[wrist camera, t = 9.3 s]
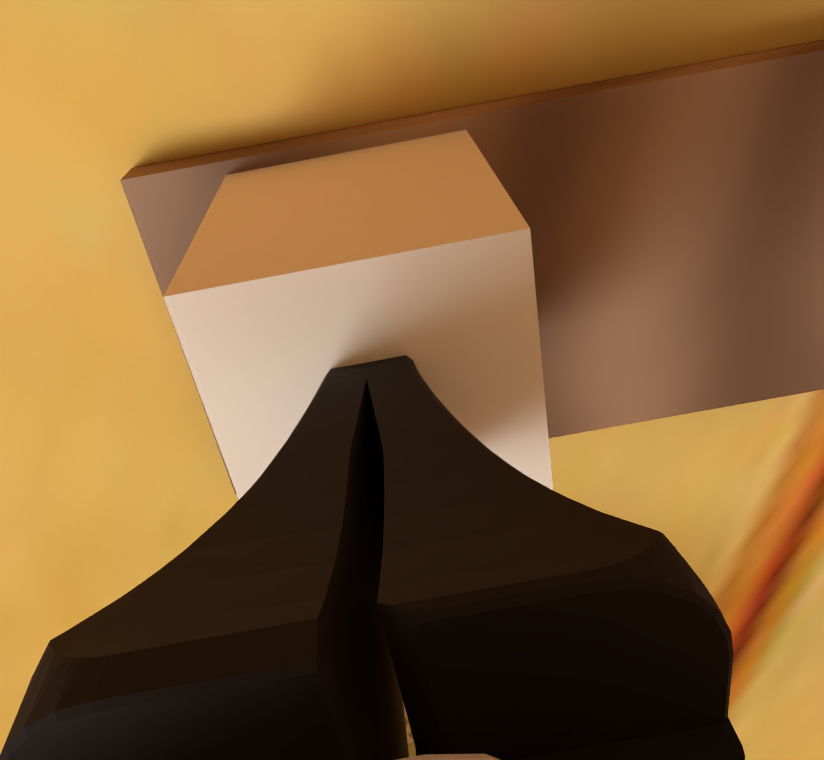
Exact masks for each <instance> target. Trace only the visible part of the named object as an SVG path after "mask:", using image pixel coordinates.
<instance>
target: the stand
mask: <svg viewBox="0 0 824 760" xmlns="http://www.w3.org/2000/svg"><path fill="white" fill-rule="evenodd" d="M461 130H467V132H468V133H469V135H470V136H471V138H472V139H473V141H474V142H475V144H476V145H477V147H478V149H479V150H480V152H481V153H482V155H483V156H484V158H485V159H486V161H487V162H488V164H489V166H490V167H491V169H492V170H493V172H494V173H495V175H496V176H497V178H498V179H499V181H500V183H501V184H502V186H503V187H504V189H505V190H506V192H507V193H508V195H509V196H510V198H511V200H512V201H513V203H514V204H515V206H516V207H517V209H518V210H519V212H520V213H521V215H522V217H523V218H524V220H525V221H526V223H527V224H528V226H529V227H530V232H531V243H532V255H533V266H534V278H535V289H536V300H537V312H538V323H539V335H540V346H541V358H542V369H543V381H544V392H545V404H546V415H547V427H548V438H552V437H558V436H563V435H569V434H575V433H580V432H586V431H592V430H597V429H603V428H608V427H614V426H620V425H625V424H631V423H637V422H642V421H648V420H653V419H659V418H665V417H670V416H676V415H682V414H687V413H693V412H698V411H704V410H710V409H715V408H721V407H726V406H732V405H738V404H743V403H749V402H755V401H760V400H766V399H771V398H777V397H783V396H788V395H794V394H800V393H805V392H811V391H816V390H822V389H824V40H822V41H817V42H811V43H806V44H801V45H795V46H790V47H784V48H779V49H774V50H768V51H763V52H757V53H752V54H747V55H741V56H736V57H730V58H725V59H720V60H714V61H709V62H703V63H698V64H693V65H687V66H682V67H676V68H671V69H666V70H660V71H655V72H649V73H644V74H639V75H633V76H628V77H622V78H617V79H612V80H606V81H601V82H595V83H590V84H585V85H579V86H574V87H568V88H563V89H558V90H552V91H547V92H541V93H536V94H531V95H525V96H520V97H514V98H509V99H504V100H498V101H493V102H487V103H482V104H477V105H471V106H466V107H460V108H455V109H450V110H444V111H439V112H433V113H428V114H423V115H417V116H412V117H406V118H401V119H396V120H390V121H385V122H379V123H374V124H369V125H363V126H358V127H352V128H347V129H342V130H336V131H331V132H325V133H320V134H315V135H309V136H304V137H298V138H293V139H288V140H282V141H277V142H271V143H266V144H261V145H255V146H250V147H244V148H239V149H234V150H228V151H223V152H217V153H212V154H206V155H201V156H196V157H190V158H185V159H179V160H174V161H169V162H163V163H158V164H152V165H147V166H142V167H136V168H131V169H130V171H129V172H128V173H127V174H126V175H125V176H124V177H123V178H122V179H121V180H120V181H121V183H122V186H123V189H124V192H125V194H126V197H127V200H128V203H129V205H130V208H131V211H132V213H133V216H134V219H135V222H136V224H137V227H138V230H139V232H140V235H141V238H142V241H143V243H144V246H145V249H146V252H147V254H148V257H149V260H150V262H151V265H152V268H153V271H154V273H155V276H156V279H157V282H158V284H159V287H160V290H161V292H162V295H163V296H164V294H165V293H166V291H167V289H168V287H169V285H170V283H171V281H172V279H173V277H174V275H175V273H176V271H177V269H178V267H179V265H180V263H181V261H182V260H183V258H184V256H185V254H186V252H187V250H188V248H189V246H190V244H191V242H192V240H193V238H194V236H195V234H196V232H197V230H198V228H199V227H200V225H201V223H202V221H203V219H204V217H205V215H206V213H207V211H208V209H209V207H210V205H211V203H212V201H213V199H214V197H215V195H216V193H217V192H218V190H219V188H220V186H221V184H222V182H223V180H224V178H225V176H226V175H228V174H234V173H239V172H244V171H249V170H255V169H260V168H265V167H270V166H276V165H281V164H286V163H292V162H297V161H302V160H307V159H313V158H318V157H323V156H329V155H334V154H339V153H344V152H350V151H355V150H360V149H366V148H371V147H376V146H381V145H387V144H392V143H397V142H402V141H408V140H413V139H418V138H424V137H429V136H434V135H439V134H445V133H450V132H455V131H461ZM163 298H164V297H163ZM164 301H165V300H164ZM166 306H167V305H166ZM167 309H168V308H167ZM168 312H169V311H168ZM170 317H171V316H170ZM171 320H172V319H171ZM173 325H174V324H173ZM174 328H175V327H174ZM175 331H176V330H175ZM176 333H177V332H176ZM177 336H178V335H177ZM178 339H179V338H178ZM179 342H180V340H179ZM180 344H181V343H180ZM181 347H182V346H181ZM182 350H183V349H182ZM183 352H184V351H183ZM184 355H185V354H184ZM185 358H186V357H185ZM186 361H187V359H186ZM187 363H188V362H187ZM188 366H189V365H188ZM189 369H190V367H189ZM190 371H191V370H190ZM191 374H192V373H191ZM192 377H193V375H192ZM193 380H194V378H193ZM194 382H195V381H194ZM195 385H196V383H195ZM196 388H197V386H196ZM197 391H198V389H197ZM198 393H199V392H198ZM199 396H200V394H199ZM200 399H201V397H200ZM201 401H202V400H201ZM202 404H203V402H202ZM203 407H204V405H203ZM204 410H205V408H204ZM205 412H206V410H205ZM206 415H207V413H206ZM207 418H208V416H207ZM208 421H209V418H208ZM209 423H210V421H209ZM210 426H211V424H210ZM211 429H212V426H211ZM212 431H213V429H212ZM213 434H214V432H213ZM214 437H215V435H214ZM215 440H216V437H215ZM216 442H217V440H216ZM217 445H218V443H217ZM218 448H219V445H218ZM219 451H220V448H219ZM220 453H221V451H220ZM221 456H222V453H221ZM222 459H223V456H222ZM223 461H224V459H223ZM224 464H225V461H224ZM225 467H226V464H225ZM226 470H227V472H228V469H227V467H226ZM228 475H229V472H228ZM229 478H230V475H229ZM230 480H231V478H230ZM231 483H232V480H231ZM232 486H233V483H232ZM233 489H234V491H235V488H234V486H233ZM235 494H236V491H235Z"/></svg>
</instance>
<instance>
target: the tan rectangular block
mask: <svg viewBox="0 0 824 760" xmlns="http://www.w3.org/2000/svg"><path fill="white" fill-rule="evenodd" d="M163 297H164V300H165V303H166V305H167V308H168V311H169V314H170V316H171V319H172V322H173V324H174V327H175V330H176V332H177V335H178V338H179V340H180V343H181V346H182V349H183V351H184V354H185V357H186V359H187V362H188V365H189V367H190V370H191V373H192V375H193V378H194V381H195V383H196V386H197V389H198V392H199V394H200V397H201V400H202V402H203V405H204V408H205V410H206V413H207V416H208V418H209V421H210V424H211V426H212V429H213V432H214V435H215V437H216V440H217V443H218V445H219V448H220V451H221V453H222V456H223V459H224V461H225V464H226V467H227V469H228V472H229V475H230V478H231V480H232V483H233V486H234V488H235V491H236V494H237V496H238V499H240V498H241V497H242V496H243V495H244V494H245V493H246V492H247V491H248V490H249V489H250V488H251V486H252V485H253V484H254V483H255V482H256V481H257V480H258V478H259V477H260V476H261V475H262V473H263V472H264V471H265V469H266V468H267V467H268V465H269V464H270V463H271V461H272V460H273V459H274V457H275V456H276V455H277V453H278V452H279V451H280V449H281V448H282V446H283V445H284V444H285V442H286V441H287V439H288V438H289V436H290V435H291V433H292V432H293V430H294V429H295V427H296V425H297V424H298V422H299V421H300V419H301V418H302V416H303V414H304V413H305V411H306V409H307V408H308V406H309V404H310V403H311V401H312V399H313V397H314V396H315V394H316V392H317V390H318V388H319V387H320V385H321V383H322V381H323V379H324V378H325V376H326V375H327V373H328V372H329V370H330V369H333V368H338V367H344V366H350V365H355V364H361V363H366V362H372V361H377V360H383V359H388V358H393V357H398V356H404V355H406V356H408V357H409V358H411V359H412V360H413V361H414V364H415V366H416V368H417V370H418V372H419V373H420V375H421V376H422V378H423V380H424V381H425V382H426V384H427V385H428V386H429V388H430V389H431V391H432V392H433V393H434V394H435V396H436V397H437V398H438V399H439V400H440V401H441V402H442V404H443V405H444V406H445V407H446V408H447V409H448V410H449V412H450V413H451V414H452V415H453V416H454V417H455V418H456V419H457V420H458V421H459V422H460V423H461V424H462V425H463V426H464V427H465V428H466V429H467V430H468V431H469V432H470V433H471V434H473V435H474V436H475V437H476V438H477V439H478V440H479V441H480V442H482V443H483V444H484V445H485V446H486V447H487V448H489V449H490V450H491V451H492V452H494V453H495V454H496V455H498V456H499V457H500V458H502V459H503V460H504V461H506V462H507V463H508V464H510V465H511V466H513V467H514V468H516V469H517V470H519V471H520V472H522V473H523V474H525V475H526V476H528V477H530V478H532V479H533V480H535V481H537V482H539V483H540V484H542V485H544V486H546V487H548V488H549V489H551V490H553V484H552V472H551V461H550V449H549V438H548V427H547V415H546V404H545V392H544V381H543V369H542V358H541V346H540V335H539V323H538V312H537V300H536V289H535V278H534V266H533V255H532V243H531V232H530V227H529V226H528V224H527V223H526V221H525V220H524V218H523V217H522V215H521V213H520V212H519V210H518V209H517V207H516V206H515V204H514V203H513V201H512V200H511V198H510V196H509V195H508V193H507V192H506V190H505V189H504V187H503V186H502V184H501V183H500V181H499V179H498V178H497V176H496V175H495V173H494V172H493V170H492V169H491V167H490V166H489V164H488V162H487V161H486V159H485V158H484V156H483V155H482V153H481V152H480V150H479V149H478V147H477V145H476V144H475V142H474V141H473V139H472V138H471V136H470V135H469V133H468V132H467V130H461V131H455V132H450V133H445V134H439V135H434V136H429V137H424V138H418V139H413V140H408V141H402V142H397V143H392V144H387V145H381V146H376V147H371V148H366V149H360V150H355V151H350V152H344V153H339V154H334V155H329V156H323V157H318V158H313V159H307V160H302V161H297V162H292V163H286V164H281V165H276V166H270V167H265V168H260V169H255V170H249V171H244V172H239V173H234V174H228V175H226V176H225V178H224V180H223V182H222V184H221V186H220V188H219V190H218V192H217V193H216V195H215V197H214V199H213V201H212V203H211V205H210V207H209V209H208V211H207V213H206V215H205V217H204V219H203V221H202V223H201V225H200V227H199V228H198V230H197V232H196V234H195V236H194V238H193V240H192V242H191V244H190V246H189V248H188V250H187V252H186V254H185V256H184V258H183V260H182V261H181V263H180V265H179V267H178V269H177V271H176V273H175V275H174V277H173V279H172V281H171V283H170V285H169V287H168V289H167V291H166V293H165V294H164V296H163Z"/></svg>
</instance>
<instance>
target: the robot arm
mask: <svg viewBox="0 0 824 760" xmlns="http://www.w3.org/2000/svg"><path fill="white" fill-rule="evenodd" d="M732 664H733V646H732V637H731V631H730V629H729V627H728V625H727V624H726V622H725V619H724V617H723V615H722V613H721V611H720V609H719V608H718V606H717V604H716V602H715V600H714V599H713V597H712V596H711V594H710V593H709V591H708V590H707V588H706V587H705V585H704V584H703V583H702V581H701V580H700V579H699V577H698V576H697V575H696V573H695V572H694V571H693V569H692V568H691V567H690V566H689V564H688V563H687V562H686V560H685V559H684V558H683V557H682V556H681V554H680V553H679V552H678V551H677V550H676V548H675V547H674V546H673V545H672V543H671V542H670V541H669V540H668V539H667V538H666V536H665V535H664V534H663V533H661V532H659V531H656V530H653V529H650V528H647V527H644V526H641V525H638V524H635V523H632V522H629V521H626V520H623V519H620V518H617V517H614V516H611V515H608V514H605V513H602V512H600V511H597V510H595V509H592V508H590V507H588V506H585V505H583V504H581V503H578V502H576V501H574V500H572V499H569V498H567V497H565V496H563V495H561V494H559V493H557V492H555V491H553V490H551V489H549V488H548V487H546V486H544V485H542V484H540V483H539V482H537V481H535V480H533V479H532V478H530V477H528V476H526V475H525V474H523V473H522V472H520V471H519V470H517V469H516V468H514V467H513V466H511V465H510V464H508V463H507V462H506V461H504V460H503V459H502V458H500V457H499V456H498V455H496V454H495V453H494V452H492V451H491V450H490V449H489V448H487V447H486V446H485V445H484V444H483V443H482V442H480V441H479V440H478V439H477V438H476V437H475V436H474V435H473V434H471V433H470V432H469V431H468V430H467V429H466V428H465V427H464V426H463V425H462V424H461V423H460V422H459V421H458V420H457V419H456V418H455V417H454V416H453V415H452V414H451V413H450V412H449V410H448V409H447V408H446V407H445V406H444V405H443V404H442V402H441V401H440V400H439V399H438V398H437V397H436V396H435V394H434V393H433V392H432V391H431V389H430V388H429V386H428V385H427V384H426V382H425V381H424V380H423V378H422V376H421V375H420V373H419V372H418V370H417V368H416V366H415V364H414V361H413V360H412V359H411V358H409V357H408V356H406V355H404V356H398V357H393V358H388V359H383V360H377V361H372V362H366V363H361V364H355V365H350V366H344V367H338V368H333V369H330V370H329V372H328V373H327V375H326V376H325V378H324V379H323V381H322V383H321V385H320V387H319V388H318V390H317V392H316V394H315V396H314V397H313V399H312V401H311V403H310V404H309V406H308V408H307V409H306V411H305V413H304V414H303V416H302V418H301V419H300V421H299V422H298V424H297V425H296V427H295V429H294V430H293V432H292V433H291V435H290V436H289V438H288V439H287V441H286V442H285V444H284V445H283V446H282V448H281V449H280V451H279V452H278V453H277V455H276V456H275V457H274V459H273V460H272V461H271V463H270V464H269V465H268V467H267V468H266V469H265V471H264V472H263V473H262V475H261V476H260V477H259V478H258V480H257V481H256V482H255V483H254V484H253V485H252V486H251V488H250V489H249V490H248V491H247V492H246V493H245V494H244V495H243V496H242V497H241V498H240V499H239V500H238V501H237V502H236V504H235V505H234V506H233V507H232V508H231V509H230V510H229V511H228V512H227V513H226V514H225V515H224V516H222V517H221V518H220V519H219V520H218V521H217V522H216V523H215V524H214V525H212V526H211V527H210V528H209V529H208V530H207V531H206V532H205V533H204V534H202V535H201V536H200V537H199V538H198V539H197V540H196V541H195V542H193V543H192V544H191V545H190V546H189V547H188V548H187V549H186V550H184V551H183V552H182V553H181V554H179V555H178V556H177V557H176V558H174V559H173V560H172V561H170V562H169V563H168V564H167V565H165V566H164V567H163V568H161V569H160V570H159V571H157V572H156V573H155V574H153V575H152V576H151V577H149V578H148V579H146V580H145V581H144V582H142V583H141V584H139V585H138V586H137V587H135V588H134V589H132V590H131V591H129V592H128V593H126V594H125V595H124V596H122V597H121V598H119V599H118V600H116V601H114V602H113V603H111V604H110V605H108V606H106V607H105V608H103V609H101V610H100V611H98V612H97V613H95V614H93V615H92V616H90V617H89V618H87V619H85V620H84V621H82V622H80V623H79V624H77V625H76V626H74V627H72V628H71V629H69V630H68V631H66V632H64V633H62V634H61V635H59V636H57V637H55V638H54V639H52V640H50V642H49V644H48V646H47V648H46V650H45V652H44V654H43V656H42V658H41V660H40V662H39V664H38V666H37V668H36V670H35V672H34V674H33V676H32V678H31V681H30V683H29V686H28V688H27V691H26V693H25V696H24V698H23V701H22V703H21V706H20V708H19V711H18V713H17V716H16V718H15V720H14V723H13V725H12V728H11V730H10V733H9V735H8V737H7V740H6V742H5V745H4V747H3V750H2V752H1V754H0V760H745V754H744V750H743V747H742V744H741V742H740V740H739V738H738V736H737V734H736V732H735V730H734V728H733V726H732V724H731V722H730V720H729V718H728V706H729V696H730V685H731V674H732ZM403 702H404V705H403ZM404 706H405V710H406V714H407V717H408V721H409V725H410V729H411V732H412V736H413V740H414V744H415V750H416V756H414V757H409V751H408V742H407V732H406V723H405V714H404Z"/></svg>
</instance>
